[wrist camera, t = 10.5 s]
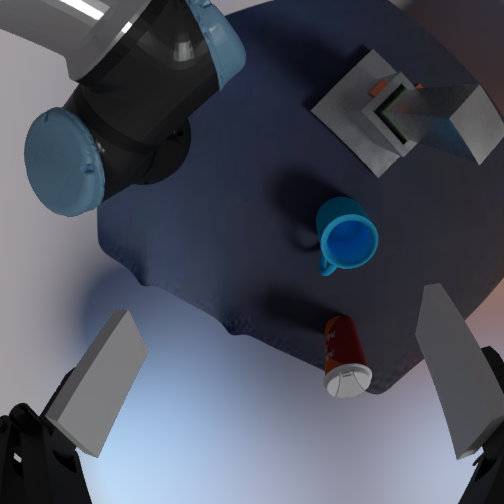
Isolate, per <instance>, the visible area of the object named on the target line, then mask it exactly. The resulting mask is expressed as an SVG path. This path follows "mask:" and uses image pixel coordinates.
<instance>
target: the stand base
mask: <svg viewBox="0 0 504 504" xmlns="http://www.w3.org/2000/svg"><path fill="white" fill-rule="evenodd" d="M403 88H408V89H418V88H423V87H422V86H421V84H420V83H418V84H414V85H412V83H411V82H410V81H409V80H408V79H407V78H406V77H405V76H404V75H403V74H402V72H398V73H397V72H396V71H395V70H394V69H393V68H392V67H391V66H390V65H389V64H388V63H387V62H386V61H385V60H384V59H383V58H382V57H381V56H380V55H379V54H378V53H377V52H376V51H375V50H374V49H372V50H371V51H370V52H369V53H368V54H366V55H365V56H364V57H363V58H362V59H361V60H360V61H359V62H358V63H357V64H356V65H355V66H354V67H353V68H352V69H351V70H350V71H349V72H348V73H347V74H346V75H345V76H344V77H343V78H342V79H341V80H340V81H339V82H338V83H337V84H336V85H335V86H334V87H333V88H332V89H331V90H330V91H329V92H328V93H327V94H326V95H325V96H324V97H323V98H322V99H321V100H320V101H319V102H318V103H317V104H316V105H315V106H314V107H313V108H312V109H311V110H310V112H312V113H313V114H314V115H315V116H316V117H317V118H318V119H319V120H320V121H322V122H323V123H324V124H325V125H326V126H327V127H328V128H329V129H330V130H331V131H332V132H333V133H334V134H335V135H336V136H338V137H339V138H340V139H341V140H342V141H343V142H344V143H345V144H346V145H347V146H348V147H349V148H350V149H351V150H352V151H353V152H354V153H355V154H356V155H357V156H358V158H359V159H360V160H361V161H362V162H363V163H364V164H365V165H366V166H367V167H368V168H369V169H370V170H371V171H372V172H373V173H374V175H375V176H377V177H378V178H379V177H380V176H381V175H382V174H383V173H384V172H385V171H386V170H387V169H388V168H389V167H390V166H391V165H392V164H393V163H394V162H395V161H396V160H397V159H398V158H399V157H400V156H401V157H404V156H405V155H406V154H407V153H408V152H409V151H410V150H411V149H412V148H413V147H414V146H415V145H416V144H417V142H414V141H411V140H410V141H409V142H408V141H405V140H404V139H403V138H401V137H397V136H395V135H394V134H393V133H392V132H391V131H390V129H389V128H388V127H387V126H386V125H385V124H384V123H383V122H382V121H381V120H380V118H379V117H378V116H377V115H376V114H375V113H374V111H375V110H376V108H377V107H378V106H379V105H380V104H381V103H382V102H383V101H384V100H385V99H386V98H387V97H388V96H389V95H390V94H391V93H392V92H393V91H401V90H402V89H403Z"/></svg>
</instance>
